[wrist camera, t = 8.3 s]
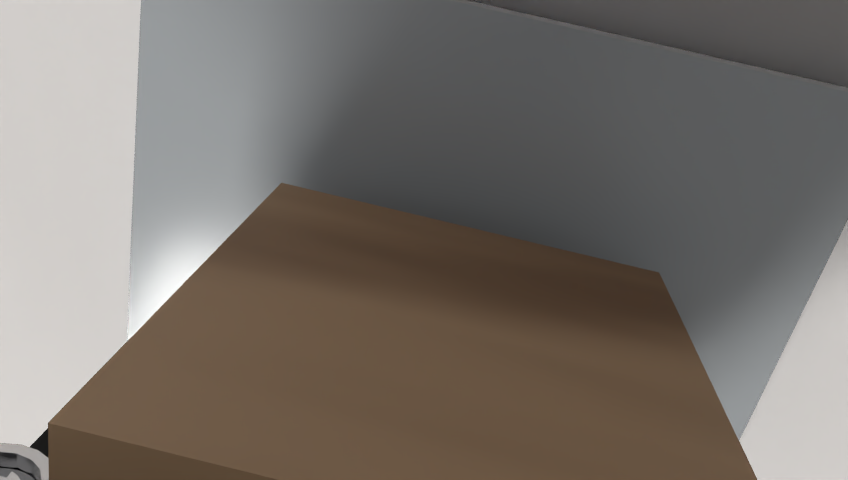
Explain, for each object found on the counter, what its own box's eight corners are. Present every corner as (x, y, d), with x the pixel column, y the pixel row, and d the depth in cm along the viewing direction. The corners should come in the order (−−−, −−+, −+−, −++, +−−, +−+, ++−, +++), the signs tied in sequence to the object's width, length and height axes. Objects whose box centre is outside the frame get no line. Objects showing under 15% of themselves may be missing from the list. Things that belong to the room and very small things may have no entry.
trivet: (167, -70, 12) (143, -71, 11) (878, 94, 11) (904, 104, 11) (137, 478, 16) (119, 503, 16) (637, 602, 16) (643, 633, 15)
